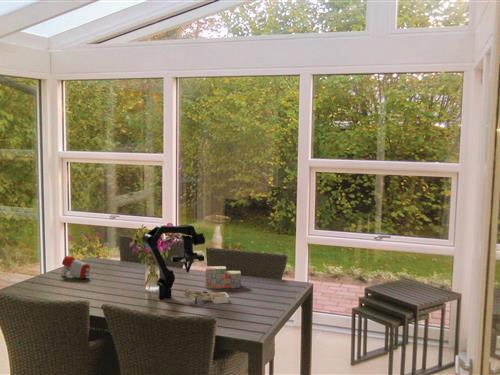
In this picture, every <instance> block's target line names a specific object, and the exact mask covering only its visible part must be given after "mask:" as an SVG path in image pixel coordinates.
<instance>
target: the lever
mask: <svg viewBox="0 0 500 375" xmlns="http://www.w3.org/2000/svg"><path fill="white" fill-rule="evenodd" d="M184 292H185V293H184V295H185V298H187V299H197V296H202V301H207V302H208V301H209V302H211V301H212V297H211V293H208V291H206V290H201V292H200V291H191V290H188V288H186V289H185V291H184Z"/></svg>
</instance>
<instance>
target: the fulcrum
mask: <svg viewBox="0 0 500 375" xmlns="http://www.w3.org/2000/svg"><path fill="white" fill-rule="evenodd" d="M191 301H192V303H193V304H194V306H199V305H202V306H203V305H205V302H204V300H202V296H197V299H193V298H191Z"/></svg>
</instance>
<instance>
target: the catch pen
mask: <svg viewBox="0 0 500 375" xmlns="http://www.w3.org/2000/svg"><path fill="white" fill-rule="evenodd" d="M214 295H218V296H219V297H214V300H213V296H214ZM210 297H212V299H211V301H212V302H213V304H214V305H215V304H226V303H230V296H229V294H228V293H227V292H225V291H224V292H211V293H210Z"/></svg>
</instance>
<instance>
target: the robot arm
mask: <svg viewBox="0 0 500 375" xmlns="http://www.w3.org/2000/svg"><path fill="white" fill-rule="evenodd" d="M163 234H182V235H181V236H179V240H182V256H179V254H178V255H177V254H175V255H171V257H170V260H171V262H172V263H178V262H179V261H180V262H181V263H182V264H183V265H184V268H185V271H186V273H187V274H188V273H189V272H190V270H191V267H192V265H193V263H195V260H198V262H204V261H205V255H204V254H200V253H199V254H198V253H197V252H194V246H200V245H205V243H206V237H205V235H204V233H203V232H198V233H197V232H196V230H195V227H194V226H193V225H190V224H187V223H186V224H185V223H184V224H181V225H161V224H160V225H156V226H155V227H154V228H153V229H150V231H148V232H146V234H144V235H143V236H142V238H141V242H142V244H143V245H144V246H145V247H146V249H148V250H149V252H150V255H151V256H152V258H153V260H154V263H155V265H156V267H157V269H158V271H159V274H158V275H159V278H158V280H157V281H156V285H157V286H158V295H157V296H158V299H159V300H166V299H172V288H173V287H174V286H173V285H174V282H175V281H176V275H175V274H174V271H173V269H170V268H168V266H167V265H166V262H165V260H164V258H163V256H162V254H161V252H160V250H159V243H158V241H159V240H160V239H161V236H162V235H163Z"/></svg>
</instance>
